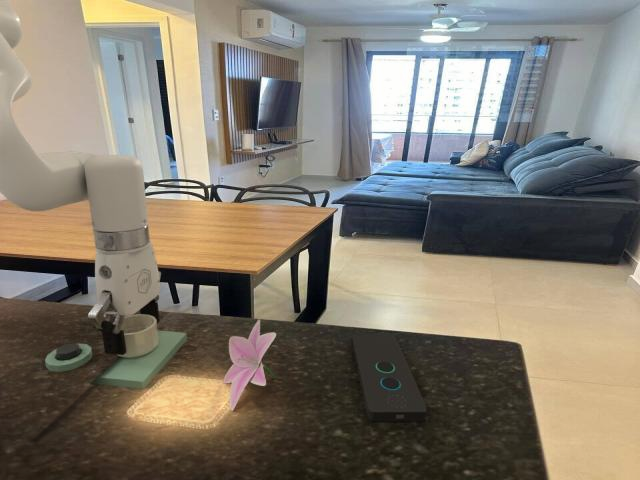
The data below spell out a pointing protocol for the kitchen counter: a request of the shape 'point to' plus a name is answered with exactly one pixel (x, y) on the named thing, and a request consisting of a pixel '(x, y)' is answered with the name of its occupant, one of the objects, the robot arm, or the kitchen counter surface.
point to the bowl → (139, 335)
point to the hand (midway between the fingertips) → (134, 336)
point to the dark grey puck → (68, 351)
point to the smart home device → (386, 380)
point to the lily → (247, 362)
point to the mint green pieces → (126, 363)
